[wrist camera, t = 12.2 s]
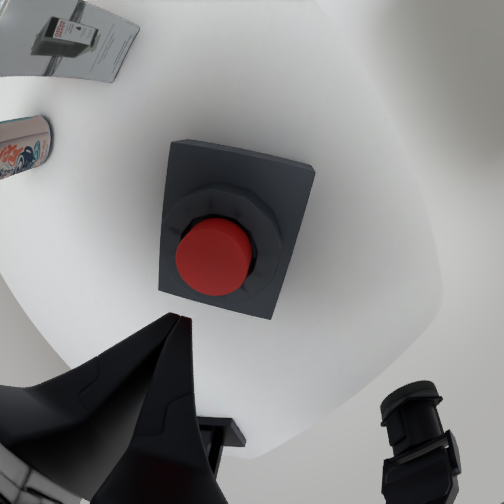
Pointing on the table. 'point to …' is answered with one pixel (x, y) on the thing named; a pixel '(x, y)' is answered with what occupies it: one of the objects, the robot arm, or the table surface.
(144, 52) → the table surface
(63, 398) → the robot arm
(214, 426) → the switch bracket
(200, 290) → the stop button
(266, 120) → the table surface
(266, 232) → the stop housing
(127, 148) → the table surface
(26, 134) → the beer can
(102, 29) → the ink box
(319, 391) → the table surface
